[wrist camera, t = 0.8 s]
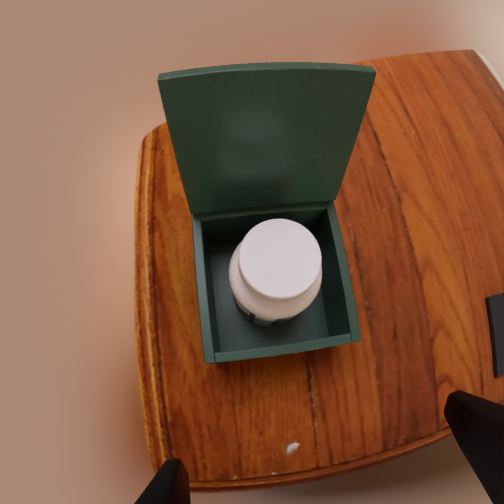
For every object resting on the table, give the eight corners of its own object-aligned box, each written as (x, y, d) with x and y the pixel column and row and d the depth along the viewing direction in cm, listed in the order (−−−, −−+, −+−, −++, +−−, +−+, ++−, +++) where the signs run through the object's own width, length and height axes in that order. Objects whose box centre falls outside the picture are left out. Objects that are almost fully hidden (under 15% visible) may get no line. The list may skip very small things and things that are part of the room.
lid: (377, 72, 11) (372, 65, 12) (156, 80, 11) (158, 73, 11) (335, 200, 20) (333, 192, 20) (190, 214, 19) (190, 206, 19)
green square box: (335, 343, 23) (361, 340, 18) (213, 360, 22) (204, 364, 17) (315, 230, 26) (333, 199, 20) (201, 242, 25) (191, 213, 20)
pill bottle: (309, 266, 24) (343, 219, 16) (296, 333, 22) (327, 323, 14) (241, 250, 24) (240, 196, 16) (224, 317, 23) (213, 298, 14)
